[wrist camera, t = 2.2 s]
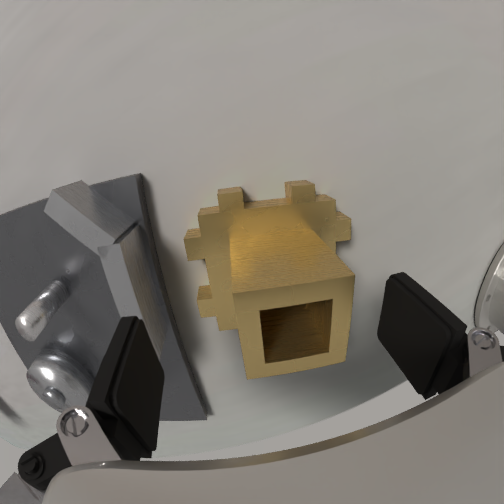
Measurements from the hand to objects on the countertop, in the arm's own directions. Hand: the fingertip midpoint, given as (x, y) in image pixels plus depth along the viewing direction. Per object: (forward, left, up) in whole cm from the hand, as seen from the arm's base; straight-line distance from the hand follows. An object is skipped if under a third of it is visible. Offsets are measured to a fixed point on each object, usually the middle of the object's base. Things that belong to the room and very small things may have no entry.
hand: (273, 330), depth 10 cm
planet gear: (-1, 0, -7) cm, 7 cm away
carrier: (+14, +4, -7) cm, 16 cm away
